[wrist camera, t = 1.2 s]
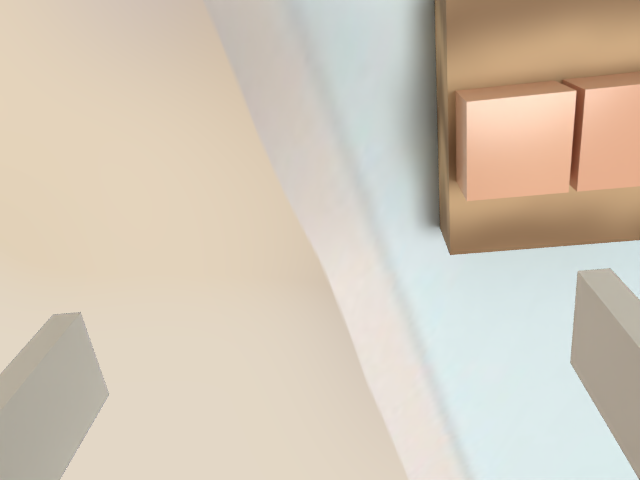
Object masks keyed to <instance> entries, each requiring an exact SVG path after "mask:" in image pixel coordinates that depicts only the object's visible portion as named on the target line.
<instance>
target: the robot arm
mask: <svg viewBox="0 0 640 480" xmlns="http://www.w3.org/2000/svg"><path fill="white" fill-rule="evenodd" d="M570 363H571V365H572V366H573V368H574V370H575V372H576V373H577V375H578V377H579V378H580V380H581V382H582V383H583V385H584V387H585V388H586V390H587V392H588V394H589V395H590V397H591V399H592V400H593V402H594V404H595V405H596V407H597V409H598V411H599V412H600V414H601V416H602V417H603V419H604V421H605V422H606V424H607V426H608V427H609V429H610V431H611V433H612V434H613V436H614V438H615V439H616V441H617V443H618V444H619V446H620V448H621V450H622V451H623V453H624V455H625V456H626V458H627V460H628V461H629V463H630V465H631V466H632V468H633V470H634V472H635V473H636V475H637V477H638V478H639V480H640V300H639V299H638V298H637V297H636V296H635V295H634V293H633V292H632V291H631V290H630V289H629V288H628V287H627V286H626V285H625V284H624V283H623V282H622V280H621V279H620V278H619V277H618V276H617V275H616V274H615V273H614V272H613V271H612V270H611V269H610V268H608V269H596V270H584V271H578V273H577V286H576V298H575V311H574V323H573V336H572V348H571V361H570ZM108 396H109V393H108V390H107V387H106V384H105V381H104V378H103V375H102V372H101V370H100V367H99V364H98V361H97V358H96V355H95V352H94V349H93V347H92V344H91V341H90V338H89V335H88V332H87V329H86V327H85V324H84V321H83V318H82V315H81V312H78V313H66V314H54V315H52V316H51V317H50V319H49V320H48V321H47V322H46V323H45V324H44V325H43V327H42V328H41V329H40V330H39V331H38V332H37V333H36V334H35V336H34V337H33V338H32V339H31V340H30V341H29V342H28V344H27V345H26V346H25V347H24V348H23V349H22V350H21V351H20V352H19V354H18V355H17V356H16V357H15V358H14V359H13V360H12V362H11V363H10V364H9V365H8V366H7V367H6V368H5V369H4V370H3V372H2V373H1V374H0V480H60V479H61V477H62V475H63V474H64V472H65V470H66V468H67V467H68V465H69V463H70V461H71V460H72V458H73V456H74V455H75V453H76V451H77V449H78V448H79V446H80V444H81V442H82V441H83V439H84V437H85V436H86V434H87V432H88V430H89V428H90V427H91V425H92V423H93V422H94V419H95V418H96V416H97V415H98V413H99V411H100V409H101V408H102V406H103V404H104V403H105V401H106V399H107V397H108Z"/></svg>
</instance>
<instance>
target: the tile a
mask: <svg viewBox="0 0 640 480" xmlns="http://www.w3.org/2000/svg"><path fill="white" fill-rule="evenodd" d="M576 92H577V91H576V90H574V89H572V88H570V87H568V86H566V85H563V84H561V83H559V82H557V81H555V80H553V81H543V82H534V83H524V84H515V85H505V86H495V87H486V88H476V89H466V90H457V91H455V101H456V182H457V184H458V186H459V188H460V190H461V191H462V193H463V195H464V197H465V199H466V201H475V200H487V199H498V198H510V197H521V196H533V195H544V194H556V193H567V192H569V181H570V169H571V156H572V143H573V130H574V117H575V105H576Z"/></svg>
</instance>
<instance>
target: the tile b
mask: <svg viewBox="0 0 640 480" xmlns="http://www.w3.org/2000/svg"><path fill="white" fill-rule="evenodd" d="M562 84H563V85H566V86H568V87H570V88H572V89H574V90H576V91H577V92H576V105H575V117H574V130H573V143H572V156H571V169H570V181H569V185H570V186H571V187H572V188H573V189H575V190H576V191H577V192H579V191H590V190H602V189H613V188H625V187H637V186H640V72H630V73H620V74H611V75H601V76H592V77H582V78H572V79H563V83H562Z"/></svg>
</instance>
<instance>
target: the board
mask: <svg viewBox="0 0 640 480" xmlns="http://www.w3.org/2000/svg"><path fill="white" fill-rule="evenodd" d="M435 42H436V84H437V126H438V168H439V210H440V229H441V232H442V235H443V237H444V240H445V243H446V245H447V248H448V250H449V253H450V255H455V254H468V253H481V252H493V251H506V250H519V249H531V248H544V247H557V246H569V245H582V244H595V243H607V242H620V241H633V240H640V186H637V187H625V188H613V189H602V190H590V191H579V192H577V191H576V190H575V189H573V188H572V187H571V186H570V185H569V192H567V193H556V194H544V195H533V196H521V197H510V198H498V199H487V200H475V201H466V199H465V197H464V195H463V193H462V191H461V190H460V188H459V186H458V184H457V182H456V101H455V91H457V90H466V89H476V88H486V87H495V86H505V85H515V84H524V83H534V82H543V81H553V80H555V81H557V82H559V83H561V84H562V83H563V79H572V78H582V77H592V76H601V75H611V74H620V73H630V72H640V0H435Z"/></svg>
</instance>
